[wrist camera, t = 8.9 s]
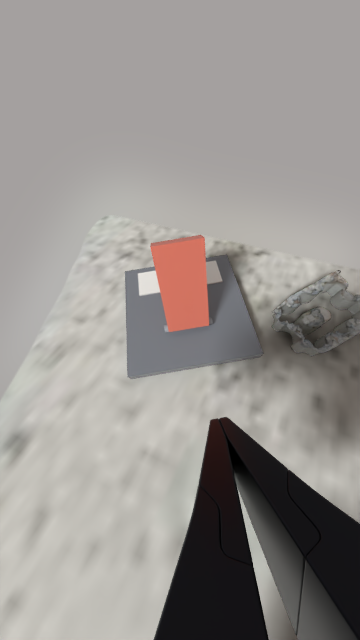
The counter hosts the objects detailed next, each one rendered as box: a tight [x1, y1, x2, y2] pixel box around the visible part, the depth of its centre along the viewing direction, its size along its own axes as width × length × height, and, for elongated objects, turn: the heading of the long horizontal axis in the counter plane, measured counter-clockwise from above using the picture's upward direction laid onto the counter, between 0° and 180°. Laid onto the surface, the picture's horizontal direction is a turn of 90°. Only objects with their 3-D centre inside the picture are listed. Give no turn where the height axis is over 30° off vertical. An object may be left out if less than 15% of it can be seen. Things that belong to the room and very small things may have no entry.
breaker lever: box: [151, 235, 213, 333], centre depth 20 cm, size 2×6×10 cm
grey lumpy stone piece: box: [272, 270, 360, 356], centre depth 23 cm, size 11×8×4 cm
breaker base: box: [125, 255, 263, 379], centre depth 25 cm, size 16×16×2 cm
